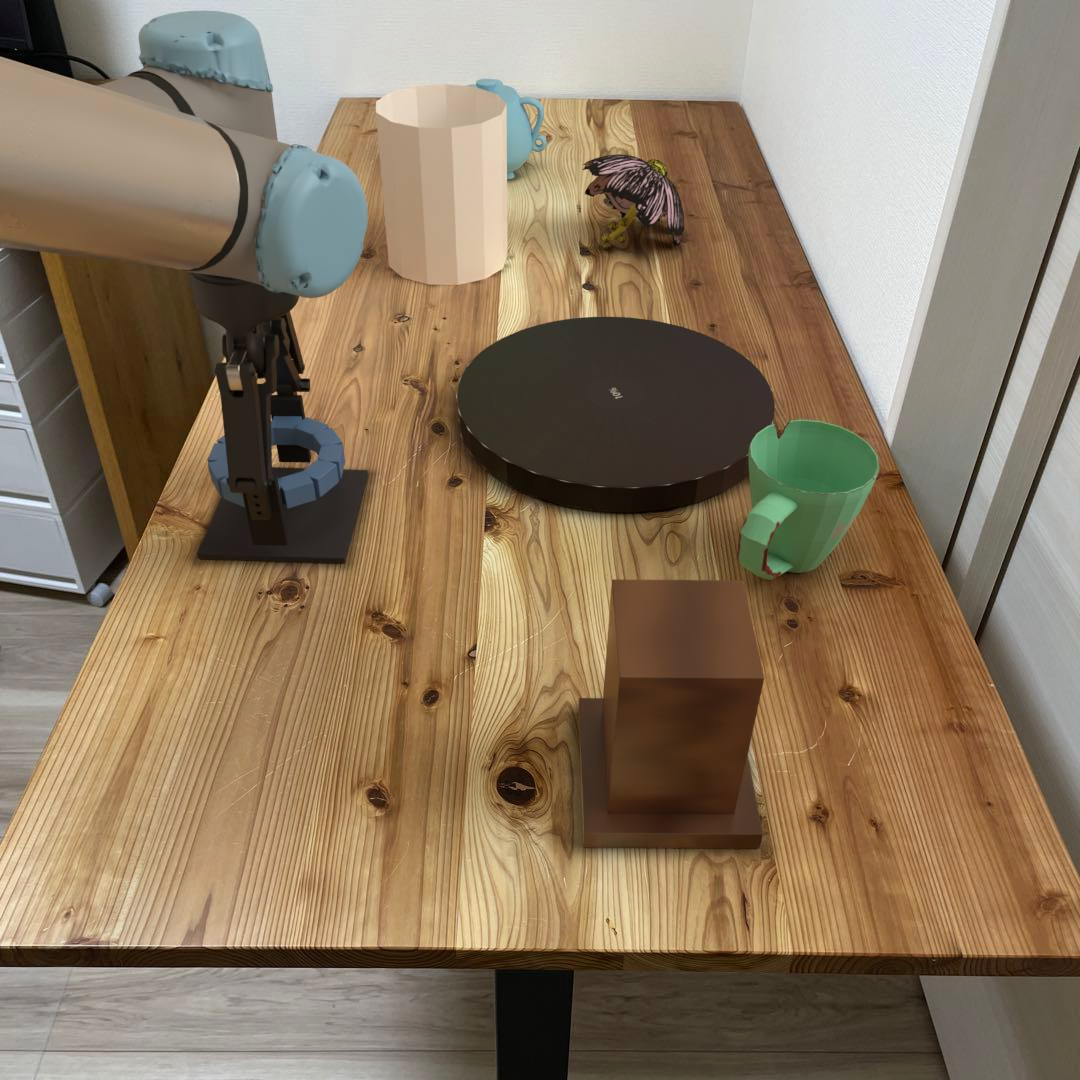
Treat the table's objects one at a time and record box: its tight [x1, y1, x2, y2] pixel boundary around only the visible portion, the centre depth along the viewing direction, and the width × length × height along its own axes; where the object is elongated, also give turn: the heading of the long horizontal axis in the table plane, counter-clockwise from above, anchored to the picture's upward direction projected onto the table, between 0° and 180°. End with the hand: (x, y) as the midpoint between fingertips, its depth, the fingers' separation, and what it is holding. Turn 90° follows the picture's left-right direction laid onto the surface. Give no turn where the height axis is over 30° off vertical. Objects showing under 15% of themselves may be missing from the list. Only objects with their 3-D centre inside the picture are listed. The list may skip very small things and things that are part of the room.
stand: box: [577, 578, 765, 849], centre depth 66 cm, size 11×11×14 cm
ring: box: [207, 416, 346, 509], centre depth 88 cm, size 11×11×2 cm
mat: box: [196, 466, 369, 564], centre depth 91 cm, size 12×12×1 cm
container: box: [375, 83, 509, 286], centre depth 124 cm, size 14×14×18 cm
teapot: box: [466, 78, 548, 180], centre depth 148 cm, size 20×17×12 cm
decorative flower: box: [582, 153, 685, 250], centre depth 130 cm, size 15×12×15 cm
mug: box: [736, 419, 880, 581], centre depth 83 cm, size 15×10×10 cm
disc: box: [455, 315, 776, 513], centre depth 102 cm, size 30×30×3 cm
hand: (283, 499), depth 90 cm, fingers closed on ring, 11 cm apart
